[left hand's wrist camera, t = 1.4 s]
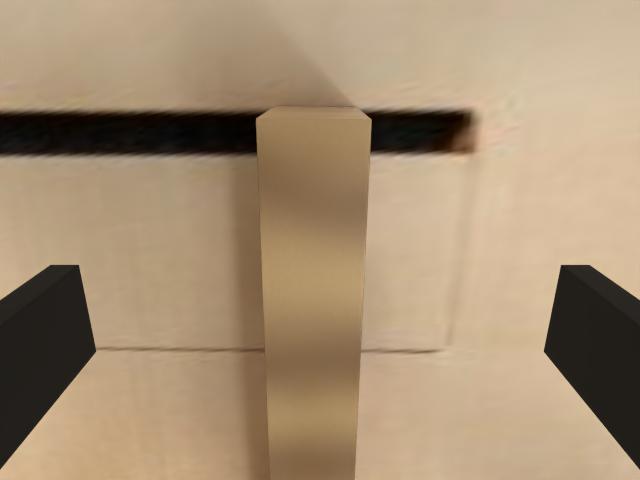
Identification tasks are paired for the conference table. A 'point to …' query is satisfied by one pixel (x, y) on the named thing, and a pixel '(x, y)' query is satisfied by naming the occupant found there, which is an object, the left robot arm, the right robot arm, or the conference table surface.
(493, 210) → the conference table surface
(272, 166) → the bar
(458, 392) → the conference table surface
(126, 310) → the conference table surface
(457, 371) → the conference table surface
